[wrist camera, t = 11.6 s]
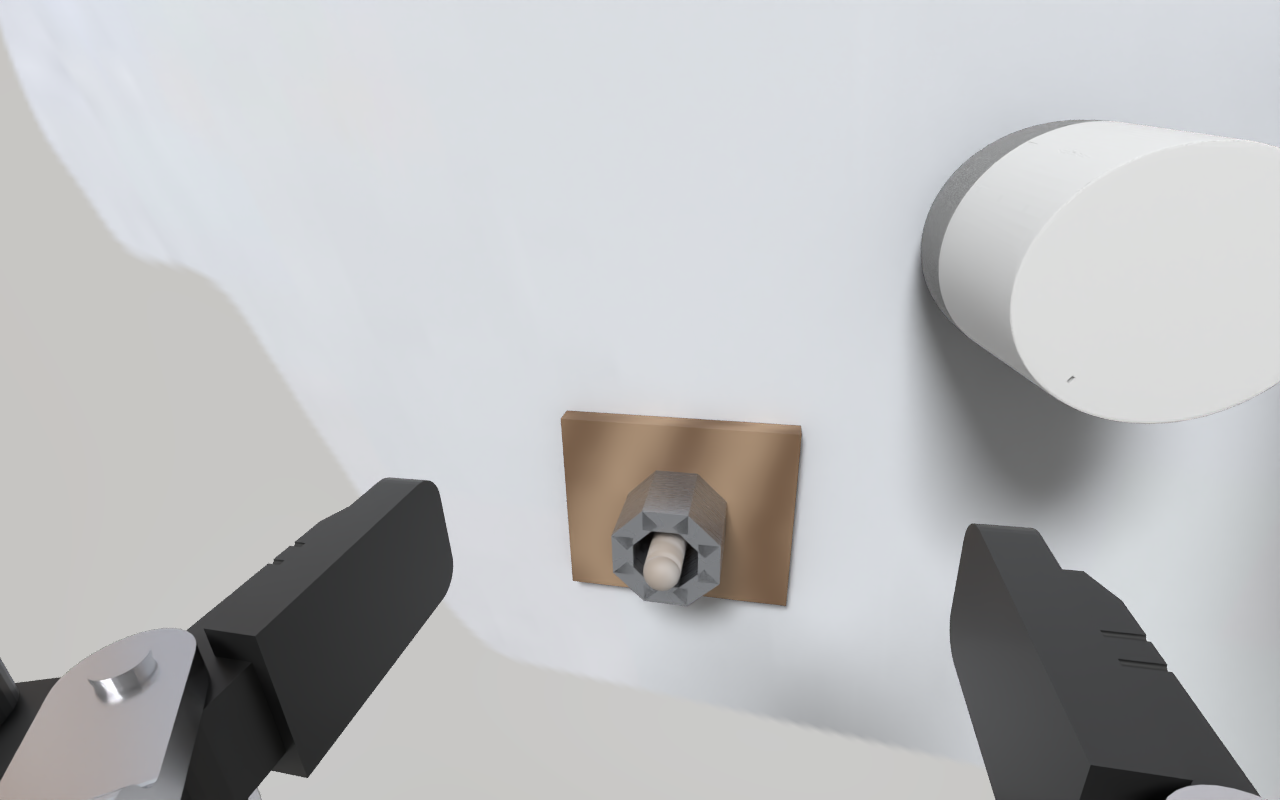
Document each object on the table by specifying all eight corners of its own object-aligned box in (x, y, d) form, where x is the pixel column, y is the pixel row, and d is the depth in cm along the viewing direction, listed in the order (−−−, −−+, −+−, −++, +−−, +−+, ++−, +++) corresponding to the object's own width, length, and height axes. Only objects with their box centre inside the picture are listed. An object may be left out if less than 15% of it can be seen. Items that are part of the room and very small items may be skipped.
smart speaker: (1014, 78, 27) (1222, 27, 15) (1176, 198, 28) (1511, 250, 15) (867, 257, 31) (931, 338, 19) (1011, 359, 32) (1168, 505, 19)
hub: (727, 476, 36) (721, 518, 32) (724, 559, 39) (718, 609, 35) (627, 468, 37) (609, 508, 33) (630, 550, 40) (614, 597, 36)
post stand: (800, 425, 36) (807, 495, 29) (785, 593, 40) (788, 688, 33) (566, 410, 38) (520, 471, 31) (578, 569, 43) (540, 653, 36)
